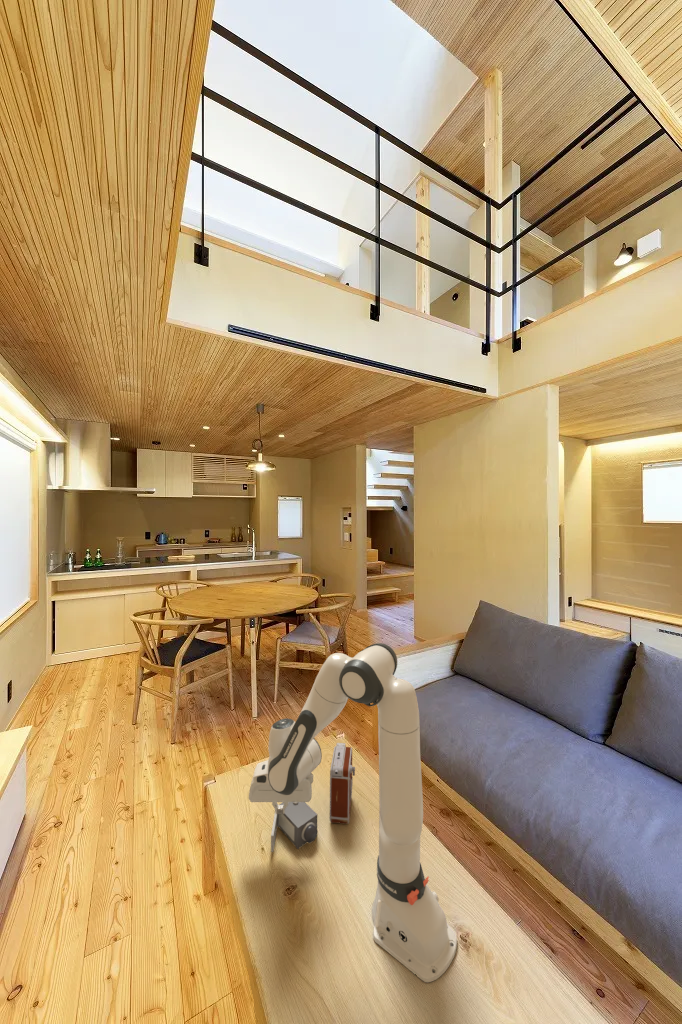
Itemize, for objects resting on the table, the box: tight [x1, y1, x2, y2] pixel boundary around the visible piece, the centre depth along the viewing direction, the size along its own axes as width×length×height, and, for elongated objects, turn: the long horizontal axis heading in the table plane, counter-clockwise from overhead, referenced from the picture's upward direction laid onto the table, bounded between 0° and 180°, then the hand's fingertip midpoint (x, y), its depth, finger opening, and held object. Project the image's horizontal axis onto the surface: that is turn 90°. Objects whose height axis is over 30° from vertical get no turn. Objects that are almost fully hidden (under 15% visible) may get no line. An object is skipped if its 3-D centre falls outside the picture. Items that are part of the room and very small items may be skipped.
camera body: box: [277, 802, 319, 850], centre depth 127 cm, size 14×8×8 cm, turn 42°
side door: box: [270, 808, 279, 853], centre depth 124 cm, size 10×1×6 cm, turn 2°
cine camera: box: [329, 742, 356, 825], centre depth 139 cm, size 9×19×20 cm, turn 174°
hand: (280, 812), depth 121 cm, fingers closed
